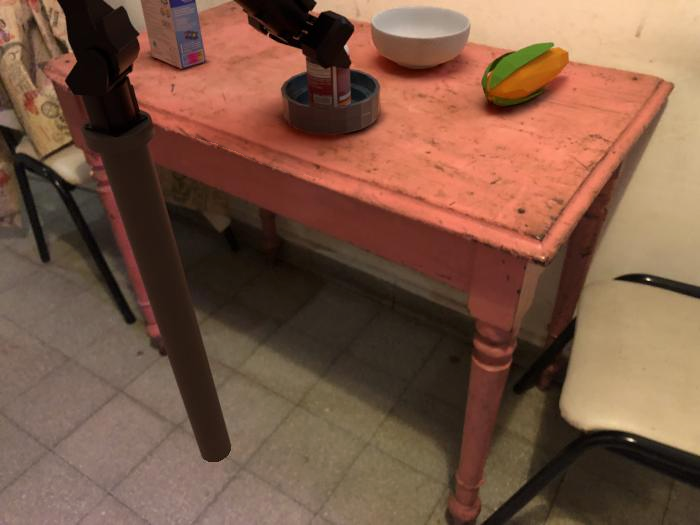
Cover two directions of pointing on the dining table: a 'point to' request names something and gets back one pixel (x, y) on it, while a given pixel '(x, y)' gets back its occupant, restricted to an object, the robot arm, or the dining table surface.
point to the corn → (523, 73)
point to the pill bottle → (328, 85)
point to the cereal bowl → (420, 35)
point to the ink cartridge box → (174, 31)
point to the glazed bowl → (331, 118)
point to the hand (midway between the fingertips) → (336, 58)
